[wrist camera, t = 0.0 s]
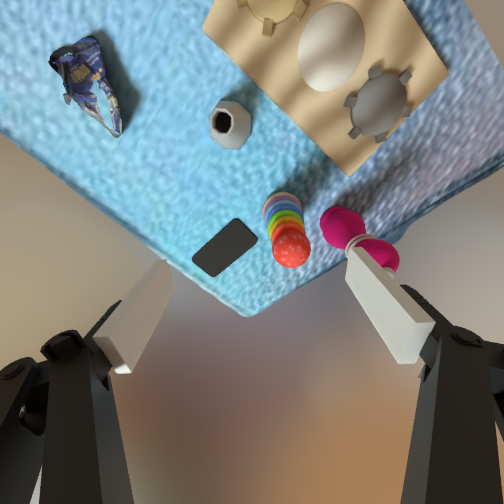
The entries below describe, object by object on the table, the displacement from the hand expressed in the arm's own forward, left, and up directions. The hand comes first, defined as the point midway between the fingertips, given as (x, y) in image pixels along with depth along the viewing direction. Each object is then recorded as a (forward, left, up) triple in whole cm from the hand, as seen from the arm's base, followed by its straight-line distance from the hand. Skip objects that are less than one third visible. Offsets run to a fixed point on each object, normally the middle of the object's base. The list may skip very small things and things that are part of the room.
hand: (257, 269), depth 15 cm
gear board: (-18, +12, -28) cm, 35 cm away
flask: (-11, -4, -28) cm, 30 cm away
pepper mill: (+8, +16, -28) cm, 33 cm away
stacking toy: (+5, +5, -28) cm, 29 cm away
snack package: (-17, -24, -29) cm, 41 cm away
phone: (+13, -8, -29) cm, 32 cm away
